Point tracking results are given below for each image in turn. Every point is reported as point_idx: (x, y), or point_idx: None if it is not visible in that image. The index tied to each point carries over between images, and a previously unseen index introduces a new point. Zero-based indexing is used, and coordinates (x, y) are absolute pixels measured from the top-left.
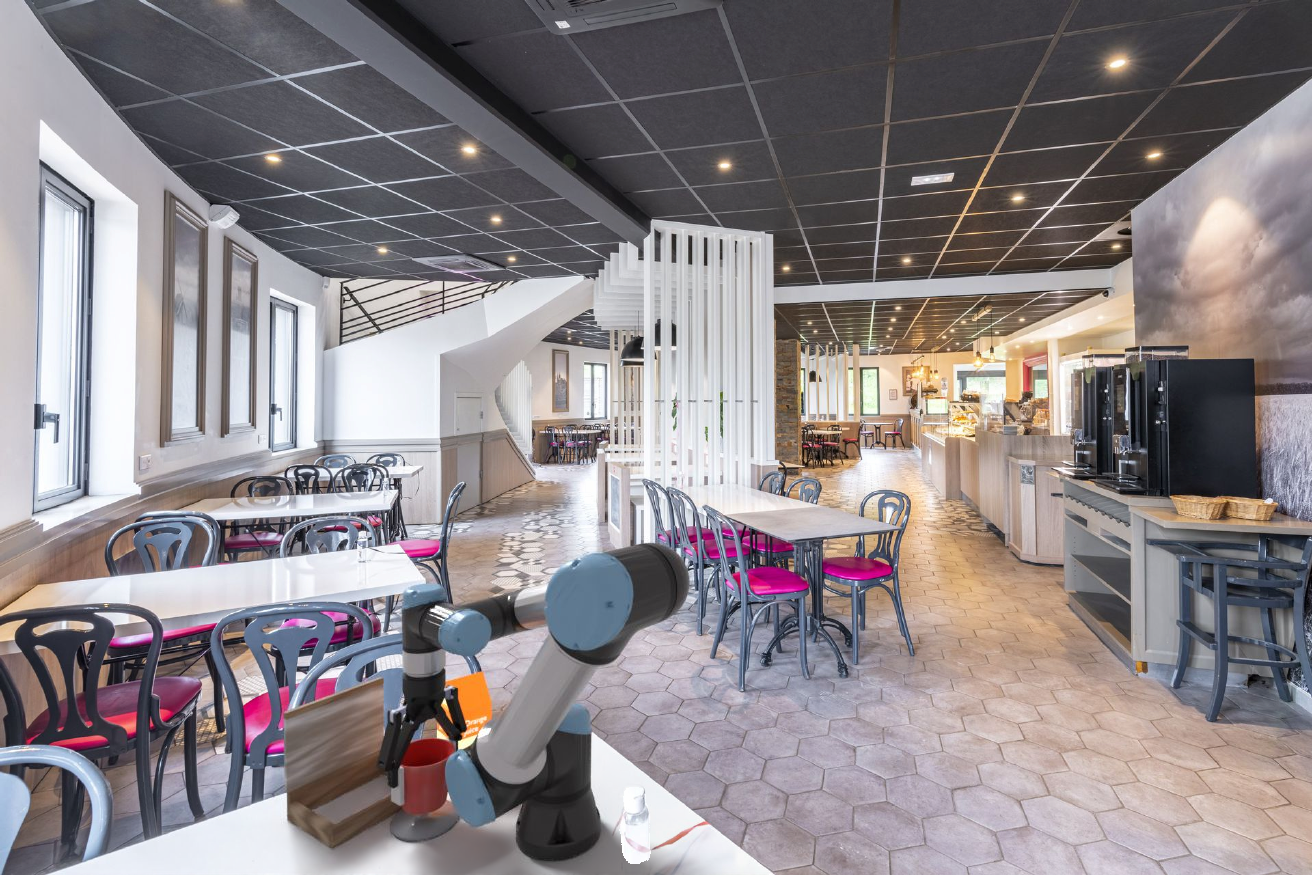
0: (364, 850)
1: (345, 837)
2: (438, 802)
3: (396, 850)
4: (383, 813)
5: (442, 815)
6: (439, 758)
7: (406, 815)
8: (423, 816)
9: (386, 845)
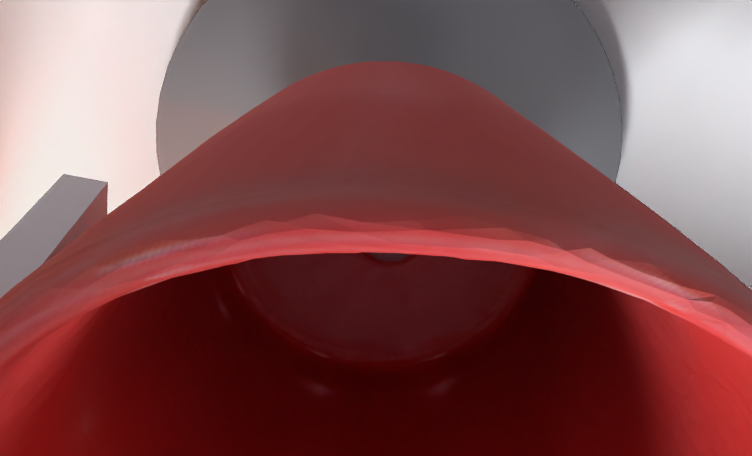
0: (742, 281)
1: None
2: (437, 73)
3: (715, 117)
4: None
5: (320, 71)
6: (101, 431)
7: None
8: None
9: (678, 205)
